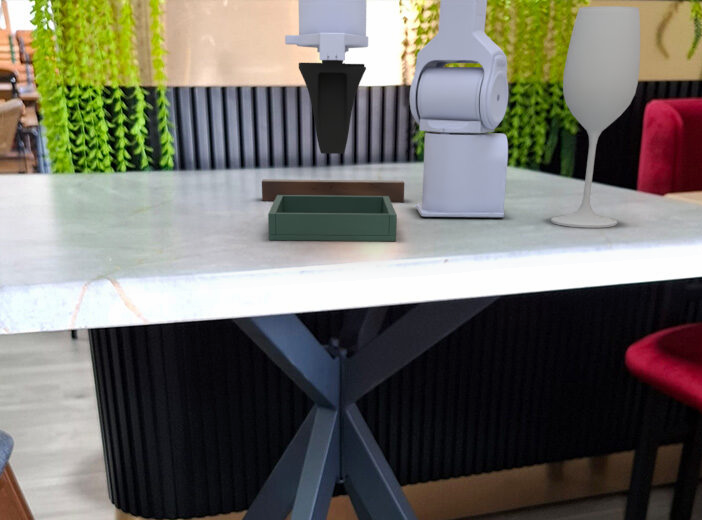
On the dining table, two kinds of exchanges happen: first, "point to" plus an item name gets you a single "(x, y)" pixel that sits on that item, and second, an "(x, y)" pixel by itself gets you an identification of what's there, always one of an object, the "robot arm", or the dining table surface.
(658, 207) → the dining table surface
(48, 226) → the dining table surface
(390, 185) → the bar
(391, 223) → the tray
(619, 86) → the wineglass
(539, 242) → the dining table surface
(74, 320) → the dining table surface
